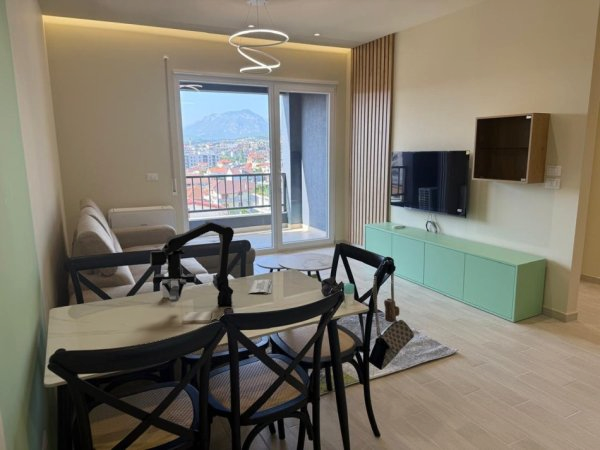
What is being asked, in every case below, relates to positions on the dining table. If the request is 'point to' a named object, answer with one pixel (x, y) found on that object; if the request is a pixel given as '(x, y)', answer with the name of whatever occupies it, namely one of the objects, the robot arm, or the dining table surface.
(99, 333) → the dining table surface
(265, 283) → the newspaper
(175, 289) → the connector
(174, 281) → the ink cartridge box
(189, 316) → the oak board
